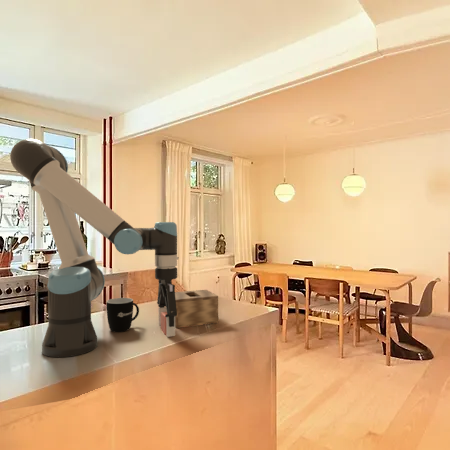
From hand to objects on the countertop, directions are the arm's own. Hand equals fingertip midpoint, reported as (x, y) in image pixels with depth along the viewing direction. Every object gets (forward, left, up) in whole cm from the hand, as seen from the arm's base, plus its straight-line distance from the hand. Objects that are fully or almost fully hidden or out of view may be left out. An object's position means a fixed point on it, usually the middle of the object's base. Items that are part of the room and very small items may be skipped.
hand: (166, 330), depth 122 cm
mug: (-13, +9, 0) cm, 16 cm away
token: (0, 0, 0) cm, 0 cm away
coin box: (+12, +9, 0) cm, 15 cm away
